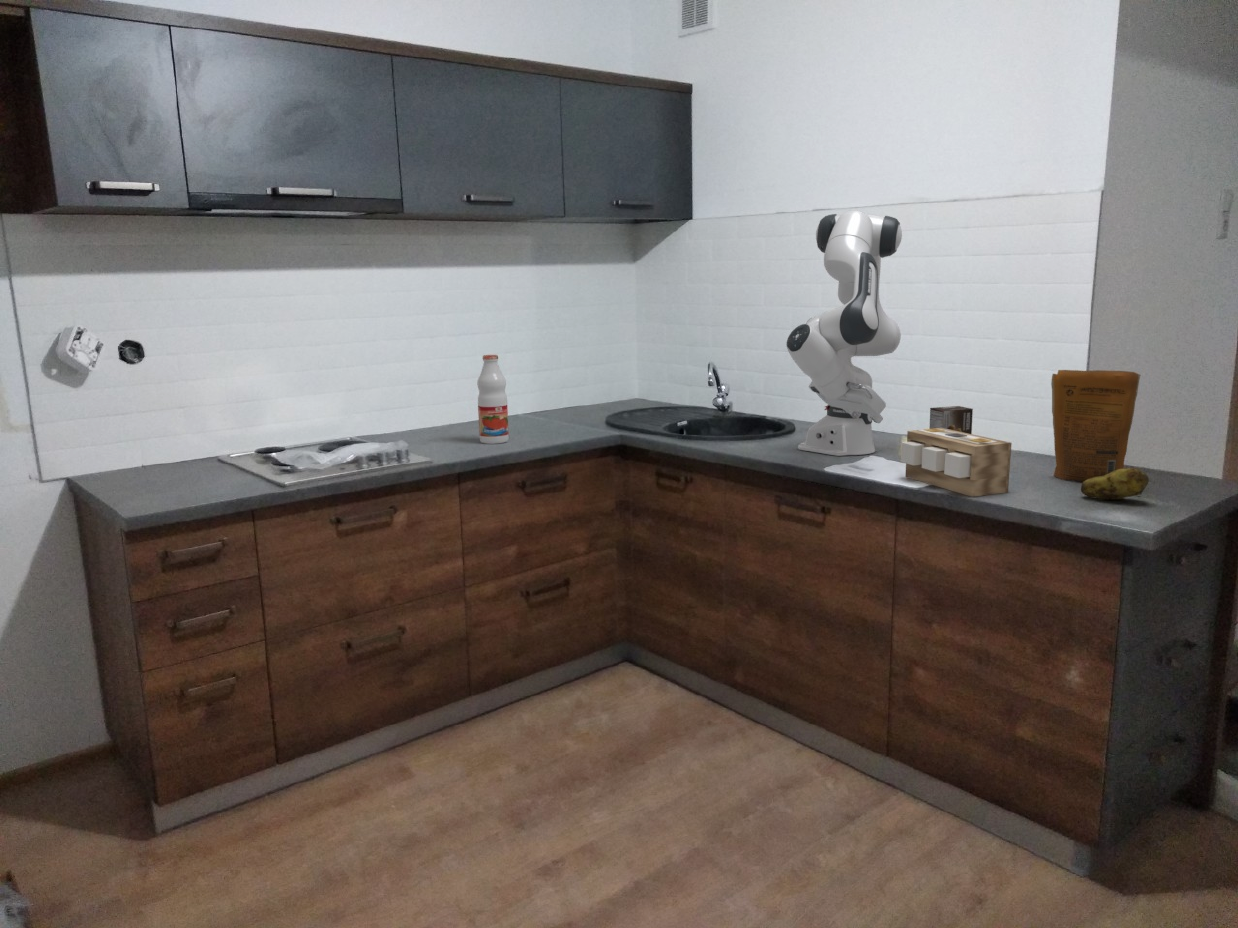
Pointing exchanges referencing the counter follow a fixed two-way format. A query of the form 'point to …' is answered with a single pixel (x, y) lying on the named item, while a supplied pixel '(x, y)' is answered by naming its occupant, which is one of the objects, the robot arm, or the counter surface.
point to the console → (985, 463)
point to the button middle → (934, 458)
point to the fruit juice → (492, 403)
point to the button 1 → (912, 452)
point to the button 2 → (958, 464)
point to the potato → (1116, 484)
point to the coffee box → (952, 418)
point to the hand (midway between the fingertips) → (868, 418)
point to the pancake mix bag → (1091, 421)
